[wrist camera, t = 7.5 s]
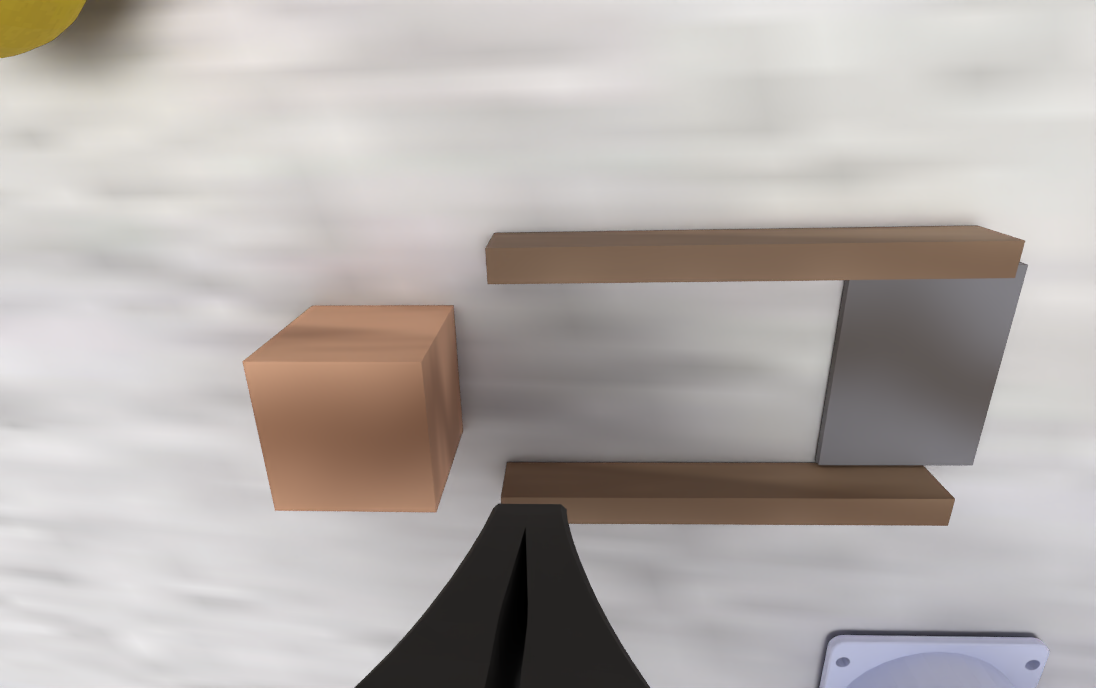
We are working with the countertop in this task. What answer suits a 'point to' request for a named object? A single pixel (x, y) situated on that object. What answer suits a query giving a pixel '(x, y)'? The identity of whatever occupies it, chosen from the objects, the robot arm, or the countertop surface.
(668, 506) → the channel
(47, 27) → the lemon
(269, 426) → the block
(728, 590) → the countertop surface
